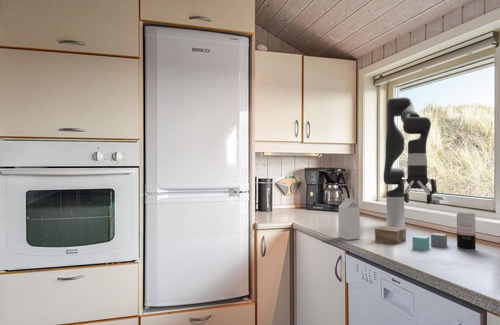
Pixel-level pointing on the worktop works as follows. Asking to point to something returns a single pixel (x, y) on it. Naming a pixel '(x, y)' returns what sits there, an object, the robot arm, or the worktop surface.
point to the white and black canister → (466, 231)
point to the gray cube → (439, 240)
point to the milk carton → (349, 220)
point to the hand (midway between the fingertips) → (417, 203)
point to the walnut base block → (390, 235)
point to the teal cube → (421, 242)
